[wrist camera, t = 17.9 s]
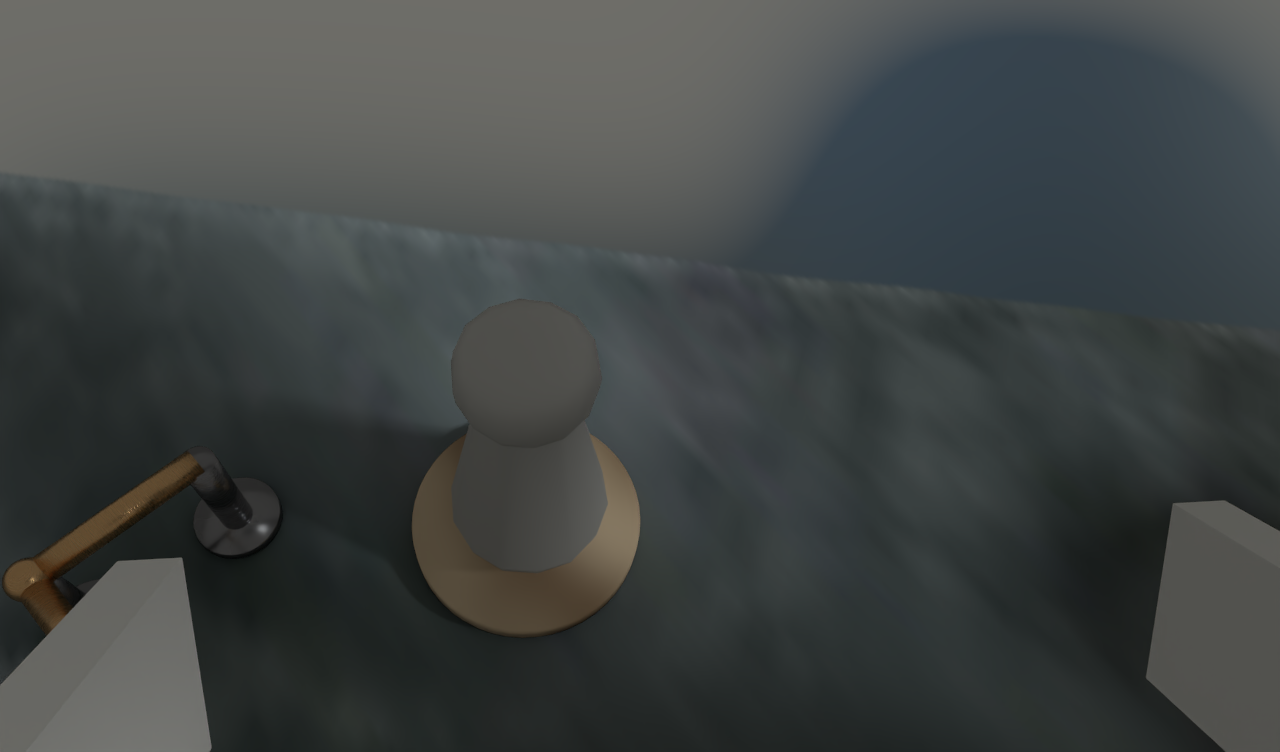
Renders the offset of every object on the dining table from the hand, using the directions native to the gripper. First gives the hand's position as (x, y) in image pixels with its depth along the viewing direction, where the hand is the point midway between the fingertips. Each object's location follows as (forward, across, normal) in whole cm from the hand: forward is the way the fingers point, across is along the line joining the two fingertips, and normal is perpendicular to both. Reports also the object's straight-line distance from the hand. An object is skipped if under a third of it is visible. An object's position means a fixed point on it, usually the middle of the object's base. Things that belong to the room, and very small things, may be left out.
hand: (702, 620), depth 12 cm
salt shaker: (+24, -3, -9) cm, 26 cm away
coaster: (+24, -3, -10) cm, 26 cm away
